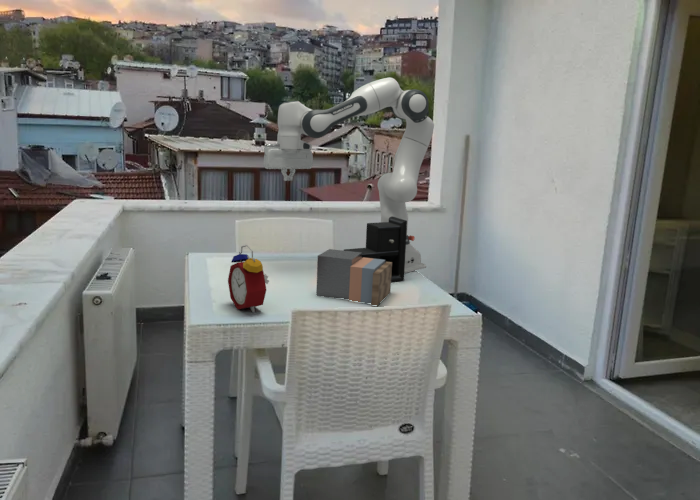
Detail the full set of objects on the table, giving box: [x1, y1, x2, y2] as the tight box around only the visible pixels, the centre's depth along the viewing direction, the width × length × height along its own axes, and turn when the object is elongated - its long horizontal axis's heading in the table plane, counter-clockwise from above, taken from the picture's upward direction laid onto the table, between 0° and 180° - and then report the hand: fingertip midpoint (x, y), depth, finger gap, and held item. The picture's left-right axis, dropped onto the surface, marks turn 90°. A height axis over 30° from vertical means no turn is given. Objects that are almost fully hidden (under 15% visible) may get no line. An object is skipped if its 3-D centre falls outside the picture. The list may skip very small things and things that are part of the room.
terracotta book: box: [348, 257, 373, 302], centre depth 192 cm, size 15×4×12 cm, turn 163°
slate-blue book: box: [361, 259, 385, 303], centre depth 191 cm, size 15×4×12 cm, turn 163°
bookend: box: [343, 216, 408, 283], centre depth 212 cm, size 23×11×24 cm, turn 117°
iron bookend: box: [315, 248, 362, 299], centre depth 194 cm, size 12×12×14 cm
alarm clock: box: [227, 244, 270, 314], centre depth 174 cm, size 15×9×20 cm, turn 35°
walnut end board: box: [371, 262, 392, 306], centre depth 190 cm, size 18×2×11 cm, turn 162°
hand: (288, 180), depth 219 cm, fingers closed
